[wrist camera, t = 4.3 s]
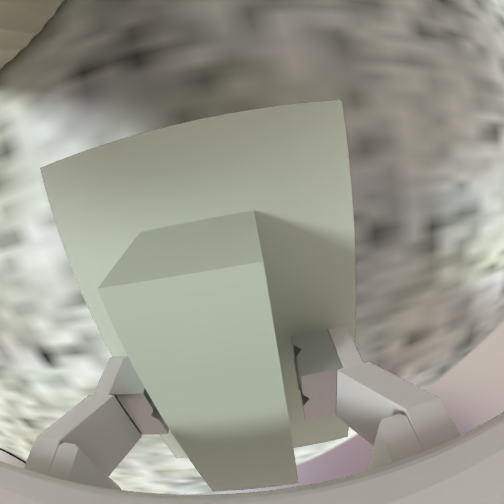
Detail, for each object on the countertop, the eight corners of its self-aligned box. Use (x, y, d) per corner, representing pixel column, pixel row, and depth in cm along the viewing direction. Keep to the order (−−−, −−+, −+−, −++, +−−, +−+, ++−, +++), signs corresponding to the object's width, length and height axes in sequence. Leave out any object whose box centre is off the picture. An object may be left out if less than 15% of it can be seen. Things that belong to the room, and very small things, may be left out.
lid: (338, 407, 13) (362, 489, 9) (180, 428, 13) (170, 509, 9) (321, 103, 8) (400, 91, 4) (71, 158, 8) (-32, 195, 4)
